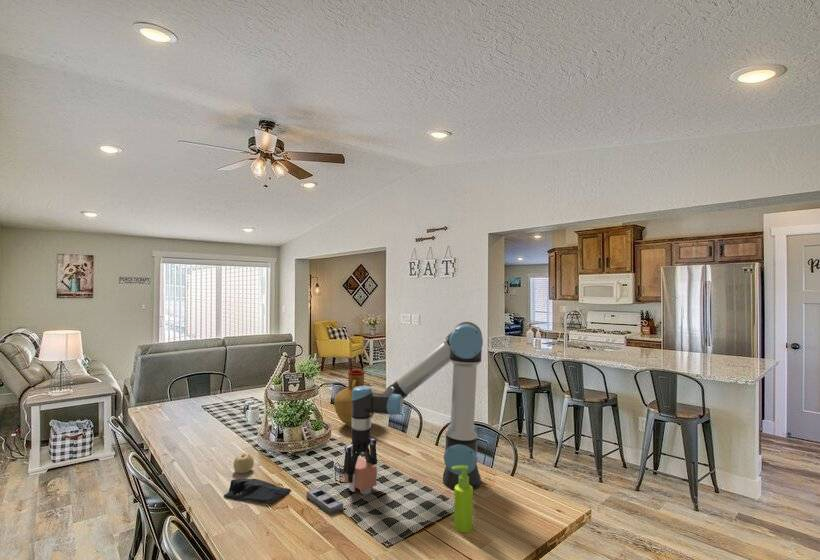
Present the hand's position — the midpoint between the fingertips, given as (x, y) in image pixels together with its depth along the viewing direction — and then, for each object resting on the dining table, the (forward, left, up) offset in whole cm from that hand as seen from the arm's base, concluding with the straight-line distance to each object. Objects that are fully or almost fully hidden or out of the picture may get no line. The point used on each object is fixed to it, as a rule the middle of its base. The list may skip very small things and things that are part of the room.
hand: (360, 487), depth 166 cm
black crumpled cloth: (+23, +31, -2) cm, 38 cm away
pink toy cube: (0, 0, -1) cm, 1 cm away
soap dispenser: (-43, -9, -1) cm, 44 cm away
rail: (0, +16, -1) cm, 16 cm away
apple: (+45, +27, -1) cm, 52 cm away
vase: (+61, -42, -1) cm, 74 cm away
